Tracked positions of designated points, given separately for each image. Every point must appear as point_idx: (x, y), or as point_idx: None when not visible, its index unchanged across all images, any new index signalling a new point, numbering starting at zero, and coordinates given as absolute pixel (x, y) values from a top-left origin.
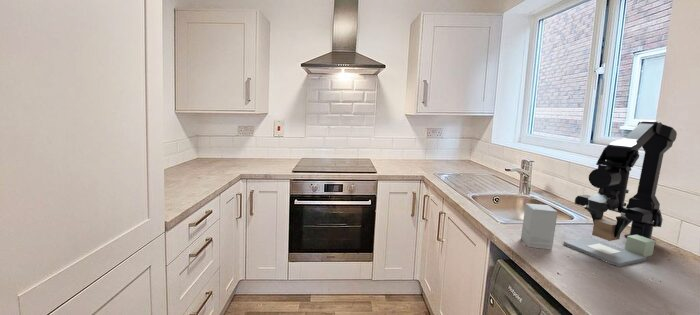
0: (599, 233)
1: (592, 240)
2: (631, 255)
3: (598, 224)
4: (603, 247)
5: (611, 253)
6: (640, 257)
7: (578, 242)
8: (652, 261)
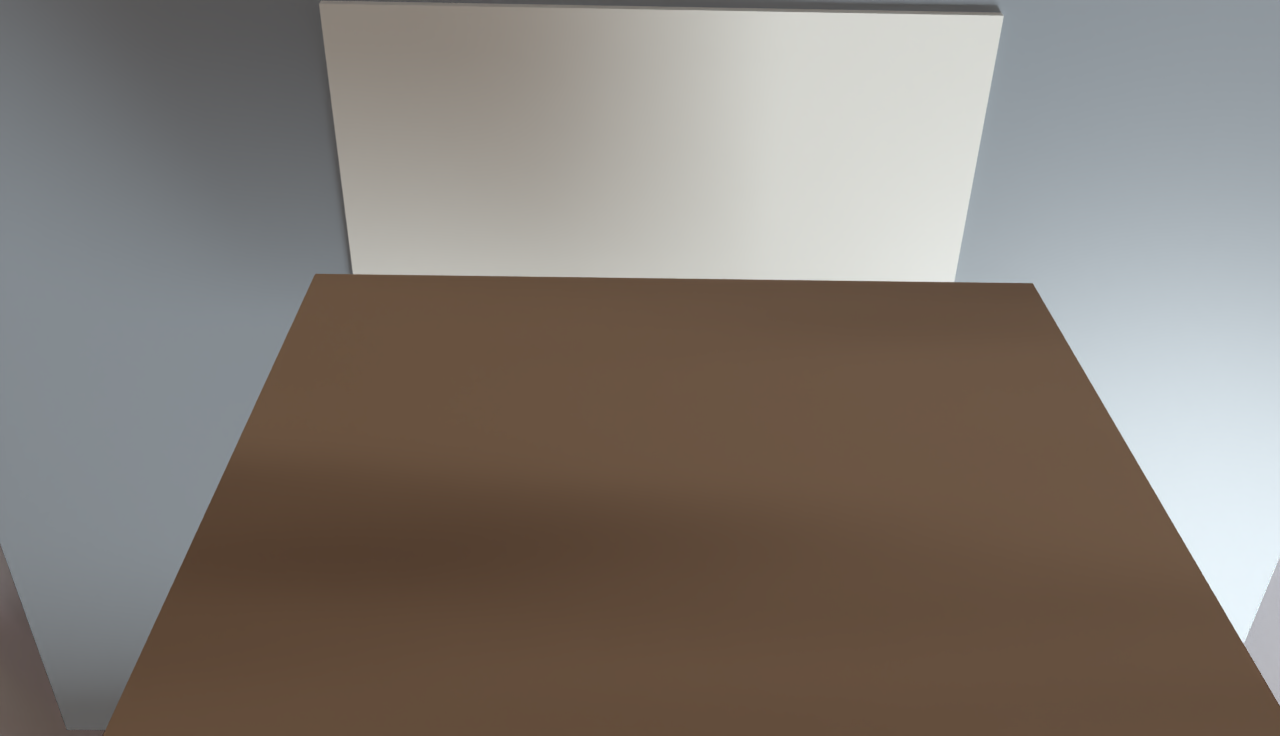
0: (759, 372)
1: None
2: (177, 541)
3: (989, 733)
4: None
5: (347, 171)
6: (62, 609)
7: (1273, 63)
8: (41, 721)
